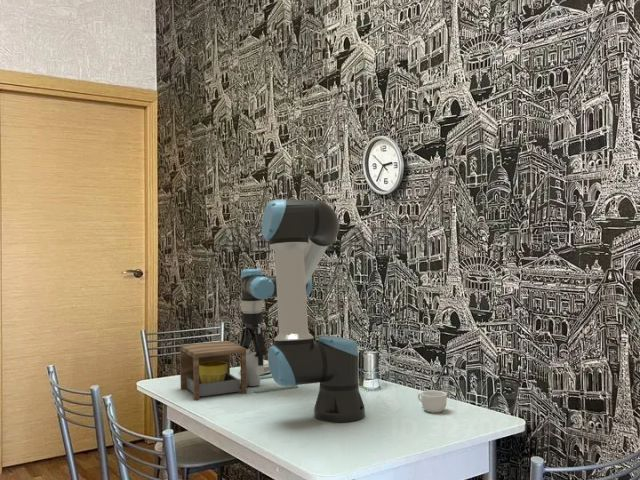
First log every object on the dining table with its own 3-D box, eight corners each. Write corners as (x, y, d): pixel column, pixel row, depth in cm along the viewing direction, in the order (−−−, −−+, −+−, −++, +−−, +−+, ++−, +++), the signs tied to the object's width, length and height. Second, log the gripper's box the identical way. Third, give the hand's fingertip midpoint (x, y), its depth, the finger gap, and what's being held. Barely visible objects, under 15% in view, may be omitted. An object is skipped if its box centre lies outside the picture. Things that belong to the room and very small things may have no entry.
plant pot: (230, 387, 224) (230, 360, 224) (223, 395, 214) (223, 366, 214) (202, 387, 225) (202, 360, 225) (193, 394, 215) (193, 366, 215)
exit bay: (298, 387, 223) (298, 385, 223) (255, 393, 216) (255, 391, 216) (275, 376, 242) (275, 374, 242) (235, 381, 234) (235, 379, 234)
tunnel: (246, 393, 215) (245, 348, 215) (194, 400, 207) (194, 353, 207) (229, 382, 232) (228, 340, 231) (180, 388, 223) (179, 345, 223)
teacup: (452, 411, 191) (452, 393, 191) (436, 416, 186) (436, 398, 186) (426, 404, 198) (426, 387, 198) (410, 409, 193) (410, 391, 193)
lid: (247, 369, 256) (247, 356, 256) (276, 370, 253) (276, 358, 253) (235, 376, 244) (234, 363, 244) (265, 377, 240) (265, 364, 240)
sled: (267, 387, 221) (266, 356, 221) (198, 396, 210) (197, 363, 210) (252, 379, 234) (251, 349, 234) (186, 387, 223) (186, 356, 223)
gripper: (275, 315, 217) (275, 376, 217) (249, 307, 239) (250, 363, 239) (254, 316, 213) (255, 379, 214) (230, 308, 236) (231, 365, 236)
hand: (252, 370), depth 227 cm, fingers open, 13 cm apart
